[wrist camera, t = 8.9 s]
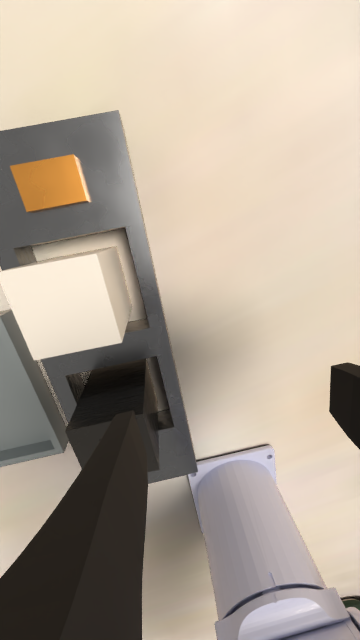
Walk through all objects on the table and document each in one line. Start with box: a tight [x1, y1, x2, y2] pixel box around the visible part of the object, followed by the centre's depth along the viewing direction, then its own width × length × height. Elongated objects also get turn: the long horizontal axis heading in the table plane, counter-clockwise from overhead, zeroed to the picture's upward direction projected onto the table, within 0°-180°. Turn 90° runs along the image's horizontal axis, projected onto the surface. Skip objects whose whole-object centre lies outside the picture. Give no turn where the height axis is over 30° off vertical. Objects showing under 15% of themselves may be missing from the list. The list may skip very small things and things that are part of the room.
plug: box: [0, 246, 132, 361], centre depth 13 cm, size 4×4×6 cm
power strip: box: [0, 110, 198, 484], centre depth 15 cm, size 24×8×6 cm, turn 11°
